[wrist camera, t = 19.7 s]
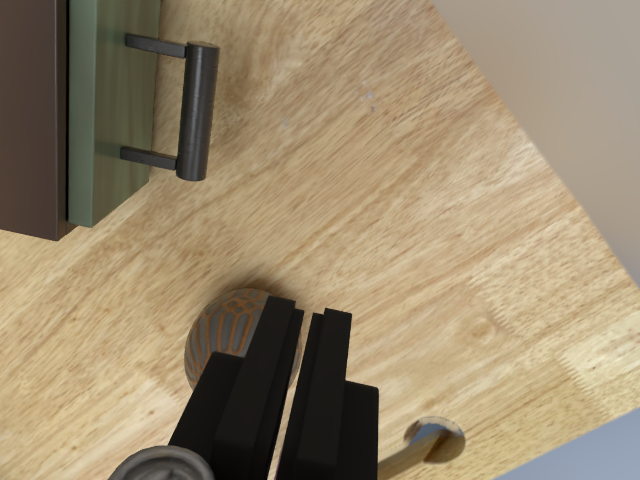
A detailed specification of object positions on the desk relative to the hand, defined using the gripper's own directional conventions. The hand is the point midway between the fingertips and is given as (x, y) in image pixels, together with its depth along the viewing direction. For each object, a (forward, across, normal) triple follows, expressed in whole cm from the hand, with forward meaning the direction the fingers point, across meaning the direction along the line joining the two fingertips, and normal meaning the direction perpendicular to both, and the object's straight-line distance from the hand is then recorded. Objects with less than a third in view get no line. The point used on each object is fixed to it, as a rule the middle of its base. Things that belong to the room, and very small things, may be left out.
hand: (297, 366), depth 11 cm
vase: (+23, +4, +14) cm, 27 cm away
